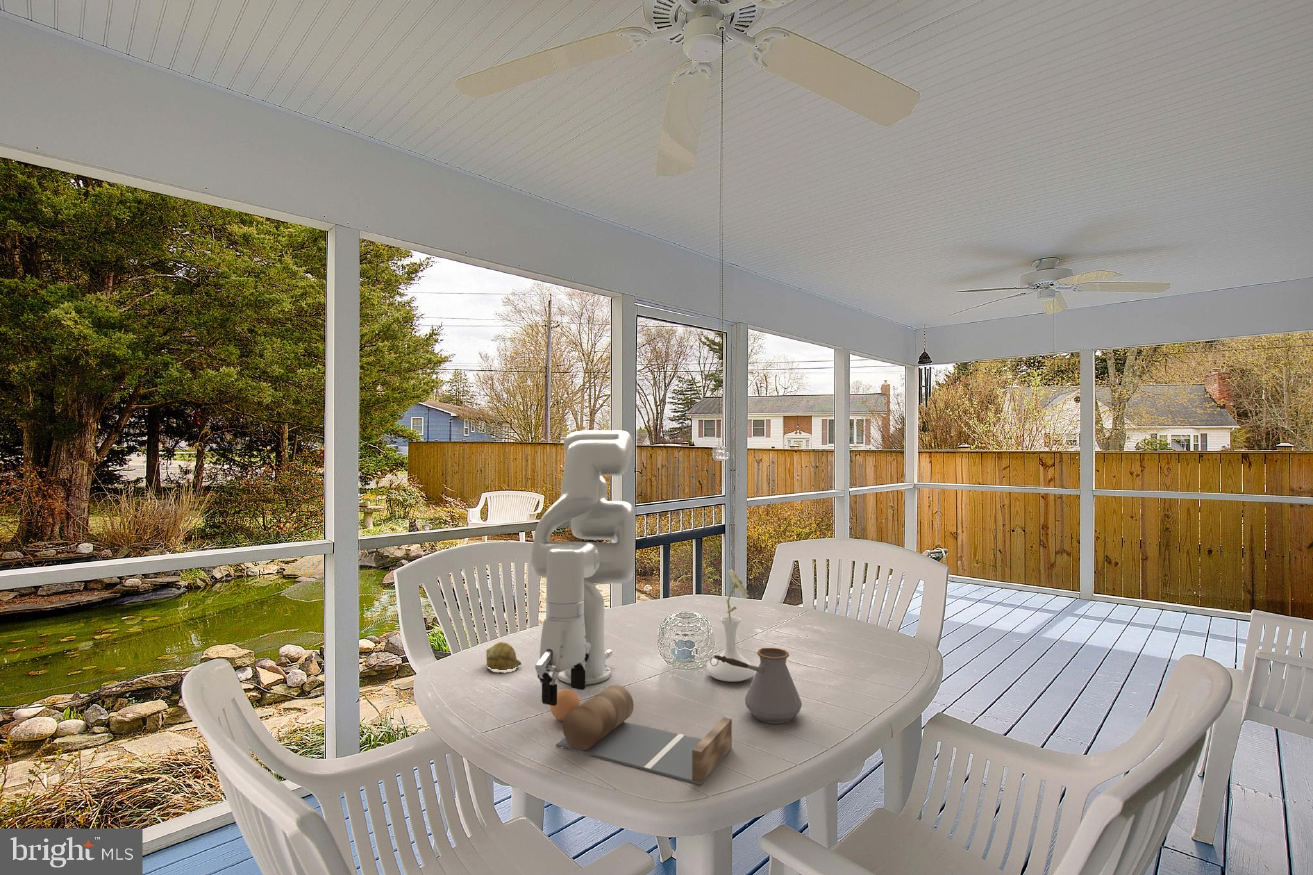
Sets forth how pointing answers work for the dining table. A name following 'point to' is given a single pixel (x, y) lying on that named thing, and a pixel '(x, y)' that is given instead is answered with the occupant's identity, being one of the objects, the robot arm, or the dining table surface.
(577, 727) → the brown cylinder
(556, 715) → the ball
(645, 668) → the dining table surface
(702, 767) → the backstop board
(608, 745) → the throwing mat
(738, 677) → the flower in vase
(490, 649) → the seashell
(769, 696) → the coffee pot
